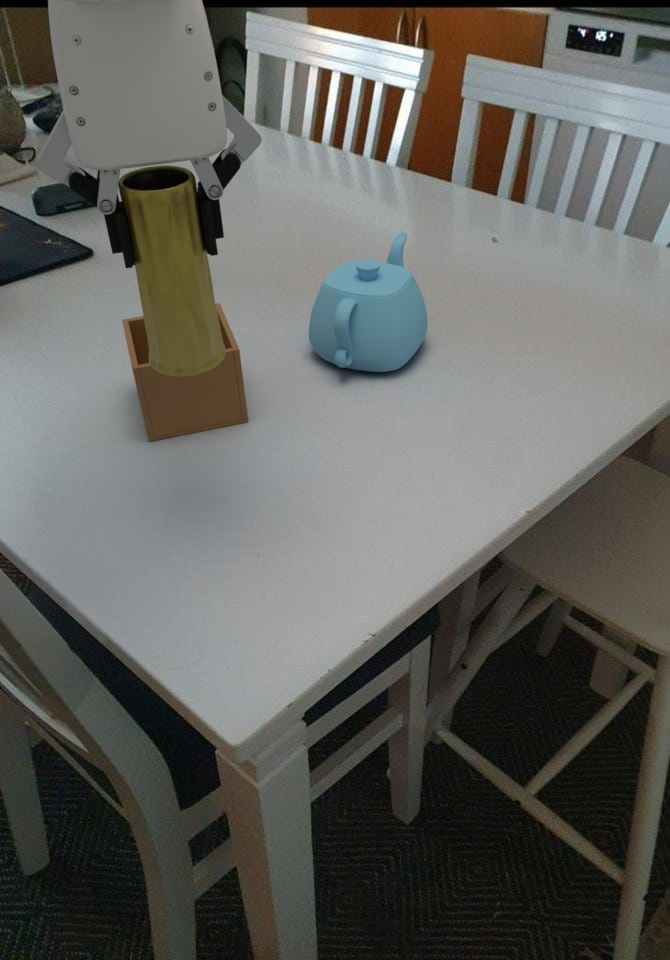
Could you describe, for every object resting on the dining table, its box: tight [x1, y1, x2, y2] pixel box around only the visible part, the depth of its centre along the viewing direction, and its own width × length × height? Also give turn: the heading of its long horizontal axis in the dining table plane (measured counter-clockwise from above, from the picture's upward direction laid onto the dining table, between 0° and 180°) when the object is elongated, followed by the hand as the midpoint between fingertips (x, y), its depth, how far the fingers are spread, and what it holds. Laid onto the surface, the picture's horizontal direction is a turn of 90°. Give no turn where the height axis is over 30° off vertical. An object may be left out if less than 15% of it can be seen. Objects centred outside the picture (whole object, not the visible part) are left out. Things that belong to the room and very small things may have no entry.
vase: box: [118, 164, 226, 377], centre depth 60 cm, size 6×6×14 cm
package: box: [121, 302, 249, 443], centre depth 83 cm, size 10×10×8 cm
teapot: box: [308, 232, 429, 373], centre depth 90 cm, size 13×11×18 cm
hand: (169, 252), depth 59 cm, fingers closed on vase, 5 cm apart
